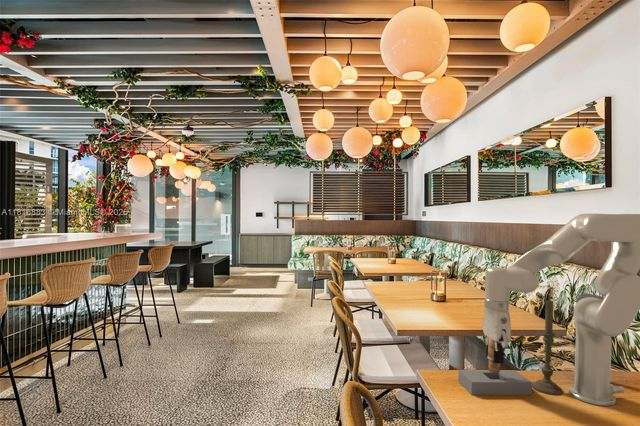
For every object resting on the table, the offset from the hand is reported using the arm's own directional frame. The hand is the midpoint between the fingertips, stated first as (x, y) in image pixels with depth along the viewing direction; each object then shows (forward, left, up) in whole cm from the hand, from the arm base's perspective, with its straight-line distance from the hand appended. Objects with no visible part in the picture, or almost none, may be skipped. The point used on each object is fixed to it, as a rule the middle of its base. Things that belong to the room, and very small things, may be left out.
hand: (494, 359), depth 133 cm
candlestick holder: (-18, +1, -10) cm, 20 cm away
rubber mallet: (-41, -7, -10) cm, 43 cm away
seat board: (0, 0, -9) cm, 9 cm away
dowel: (0, 0, -4) cm, 4 cm away
